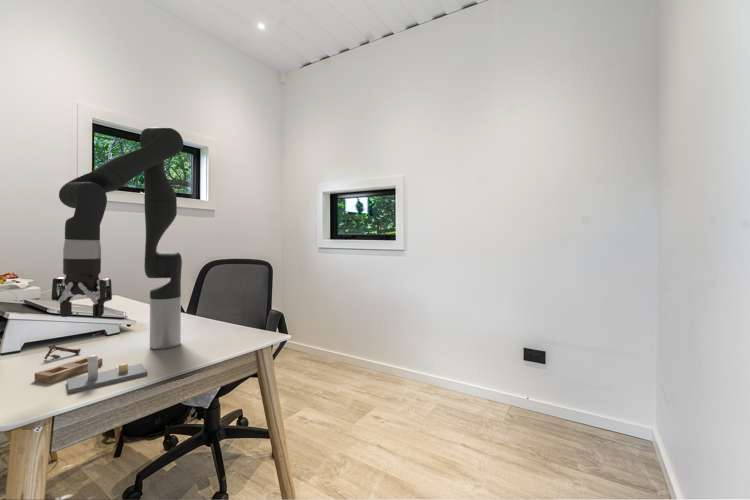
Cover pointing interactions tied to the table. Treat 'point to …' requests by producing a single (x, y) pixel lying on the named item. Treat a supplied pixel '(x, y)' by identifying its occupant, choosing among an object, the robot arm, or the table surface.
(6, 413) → the table surface
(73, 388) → the base
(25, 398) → the table surface
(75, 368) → the holed bar
